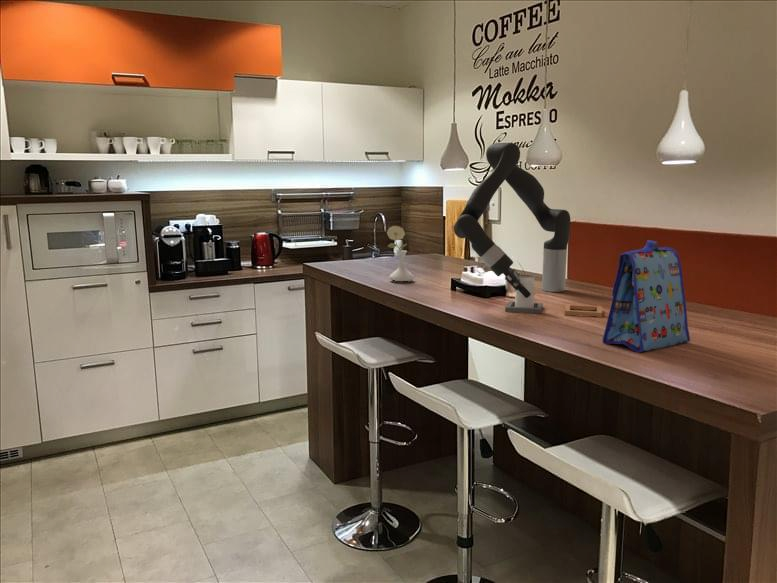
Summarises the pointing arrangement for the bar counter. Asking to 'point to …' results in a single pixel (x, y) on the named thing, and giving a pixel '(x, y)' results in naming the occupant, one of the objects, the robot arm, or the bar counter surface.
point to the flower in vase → (401, 272)
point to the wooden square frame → (583, 313)
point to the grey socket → (510, 308)
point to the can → (530, 286)
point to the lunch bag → (648, 300)
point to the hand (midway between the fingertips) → (529, 294)
